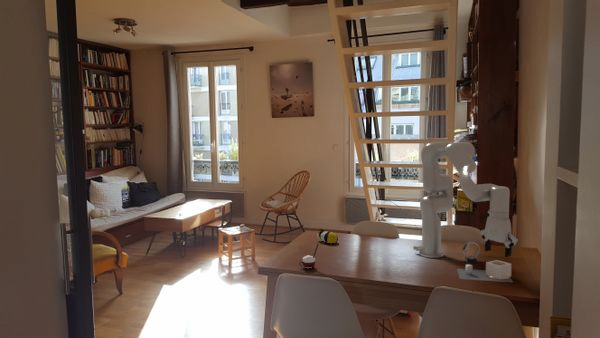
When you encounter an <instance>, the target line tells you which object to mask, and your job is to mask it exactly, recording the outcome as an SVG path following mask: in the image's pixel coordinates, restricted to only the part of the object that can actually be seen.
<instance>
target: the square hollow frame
mask: <svg viewBox="0 0 600 338" xmlns="http://www.w3.org/2000/svg"><path fill="white" fill-rule="evenodd" d="M497 261H498V262H501V265H497V264H496V262H497ZM485 270H486V275H488V276H491V277H494V278H497V279H504V278H507V277H510V278H511V277H512V263H510V262H506V261H502V260H498V259H494V260H490V261H486V262H485Z"/></svg>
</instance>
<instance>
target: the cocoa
mask: <svg viewBox="0 0 600 338" xmlns="http://www.w3.org/2000/svg"><path fill="white" fill-rule="evenodd" d="M318 247H319V242H318V243H317V244H316V247H315V249H314V253H313V255H305V256H303V257H302V261H300V262H299V265H300V266H301V267H302V266H304V267H315V265H316V258H315V256H316V253H317V251H318ZM304 267H303V268H304Z"/></svg>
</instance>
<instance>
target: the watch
mask: <svg viewBox="0 0 600 338" xmlns="http://www.w3.org/2000/svg"><path fill="white" fill-rule="evenodd" d="M471 244H474V245H476V246H477V250H476V252H475V254H474V256H471V255H467V254H466V253H467V251H468V250H469V248H470V247H471ZM461 251H462V253H463V255H464V256H465V257H464V260H465V262H466V263H467V264H478V259H477V257H478V256H479V255H480V253H481V248H480V246H479V244H478V243H476V242H475V241H468V242H465V243H464V245H463V247H462V248H461Z"/></svg>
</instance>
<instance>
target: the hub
mask: <svg viewBox="0 0 600 338" xmlns="http://www.w3.org/2000/svg"><path fill="white" fill-rule="evenodd" d="M496 264H497V265H501V262H498V261H497V262H496ZM487 276H488V275H487ZM488 277H490V278H494V277H491V276H488ZM509 278H511V277H507V278H504V279H500V280H505V279H509ZM494 279H497V278H494Z"/></svg>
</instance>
